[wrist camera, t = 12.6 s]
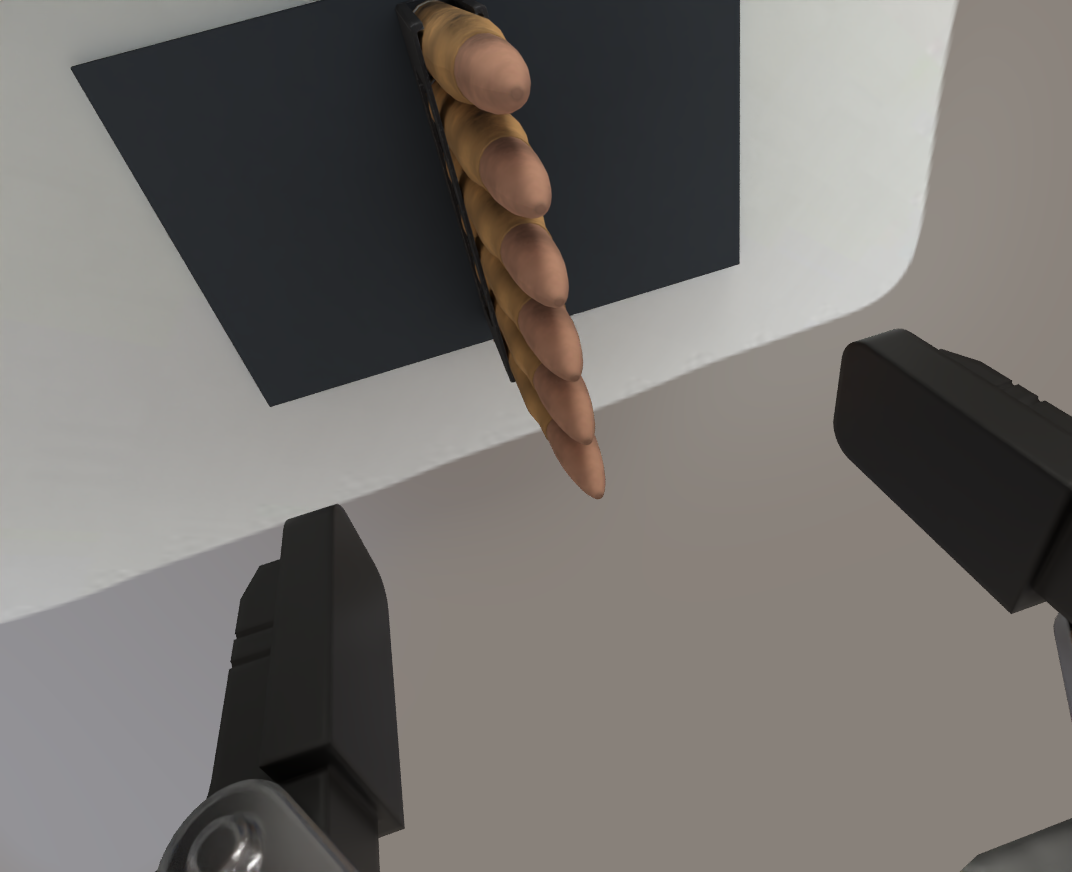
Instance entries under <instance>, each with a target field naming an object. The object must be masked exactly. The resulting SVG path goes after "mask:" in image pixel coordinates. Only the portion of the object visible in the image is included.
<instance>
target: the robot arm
mask: <svg viewBox="0 0 1072 872" xmlns="http://www.w3.org/2000/svg"><path fill="white" fill-rule="evenodd" d="M833 424H834V432H835V436H836V439H837V442H838V444H839V446H840V448H841V449H842V451H843V453H844V454H845V455H846V456H847V457H848V458H849V460H851V461H852V462H853V463H854V464H855V465H856V466H857V467H858V468H859V469H860V470H861V471H862V472H863V473H864V474H865V475H866V476H867V477H868V478H869V479H871V480H872V481H873V482H874V483H875V484H876V485H877V486H878V487H879V488H880V489H881V490H882V491H883V492H884V493H885V494H886V495H887V496H888V497H889V498H890V499H891V500H892V501H893V502H894V503H896V504H897V505H898V506H899V507H900V508H901V509H902V510H903V511H904V512H905V513H906V514H907V515H908V516H909V517H910V518H911V519H912V520H913V521H914V522H915V523H916V524H918V525H919V526H920V527H921V528H922V529H923V530H924V531H925V532H926V533H927V534H928V535H929V536H930V537H931V538H932V539H933V540H934V541H935V542H936V543H937V544H938V545H939V546H941V547H942V548H943V549H944V550H945V551H946V552H947V553H948V554H949V555H950V556H951V557H952V558H953V559H954V560H955V561H956V562H957V563H958V564H959V565H961V567H963V568H964V569H965V570H966V571H967V572H968V573H969V574H970V575H971V576H972V577H973V578H974V579H975V580H976V581H977V582H978V583H979V584H980V585H981V586H982V587H983V588H984V589H986V590H987V591H988V592H989V593H990V594H991V595H992V596H993V597H994V598H995V599H996V600H997V601H998V602H999V603H1000V604H1001V605H1002V606H1004V608H1005V609H1006V610H1007V611H1009V612H1010V613H1011V614H1012V613H1015V612H1018V611H1021V610H1024V609H1026V608H1029V607H1032V606H1035V605H1038V604H1040V603H1043V602H1046V601H1047V602H1048V603H1049V604H1050V605H1051V606H1052V607H1053V608H1054V609H1056V610H1057V611H1058V612H1059V613H1058V615H1057V616H1056V618H1055V621H1054V635H1055V640H1056V645H1057V650H1058V655H1059V660H1060V665H1061V670H1062V675H1063V680H1064V685H1065V690H1066V695H1067V700H1068V705H1069V710H1070V715H1071V720H1072V417H1071V416H1070V415H1068V414H1066V413H1065V412H1063V411H1061V410H1059V409H1058V408H1057V407H1055V406H1053V405H1052V404H1050V403H1048V402H1047V401H1043V402H1040V401H1039V400H1038V396H1037V395H1035V394H1033V393H1031V392H1030V391H1028V390H1027V389H1025V388H1024V387H1022V386H1020V385H1019V384H1018V385H1015V386H1014V385H1013V384H1012V380H1010V379H1009V378H1007V377H1005V376H1004V375H1002V374H1000V373H999V372H997V371H996V370H994V369H992V368H991V367H989V366H987V365H986V364H984V363H982V362H980V361H978V360H974V359H971V358H968V357H965V356H962V355H959V354H955V353H952V352H949V351H946V350H943V349H940V350H938V349H936V348H935V347H933V346H932V345H930V344H928V343H927V342H925V341H924V340H922V339H920V338H919V337H917V336H916V335H914V334H912V333H911V332H909V331H907V330H904V329H893V330H890V331H887V332H884V333H881V334H878V335H875V336H871V337H868V338H865V339H862V340H859V341H856V342H852V343H850V344H849V345H848V346H847V347H846V348H845V350H844V352H843V355H842V361H841V368H840V376H839V383H838V390H837V398H836V406H835V413H834V421H833ZM235 634H236V637H237V639H236V640H234V643H233V650H232V656H231V661H230V662H231V663H232V668H231V669H230V670H229V674H228V681H227V687H226V693H225V699H224V705H223V711H222V718H221V724H220V730H219V737H218V743H217V749H216V755H215V761H214V767H213V774H212V780H211V784H210V789H209V793H208V796H207V799H206V800H205V801H204V802H202V803H201V804H200V805H199V806H198V807H197V808H196V809H195V810H194V811H193V812H192V813H191V814H190V815H189V816H188V817H187V819H186V820H185V821H184V822H183V823H182V825H181V826H180V827H179V829H178V830H177V831H176V833H175V834H174V836H173V838H172V839H171V841H170V843H169V844H168V846H167V848H166V850H165V852H164V854H163V857H162V859H161V861H160V864H159V867H158V870H157V871H156V872H380V866H379V842H378V838H380V837H382V836H385V835H388V834H391V833H393V832H396V831H399V830H402V829H404V828H405V827H404V814H403V800H402V787H401V773H400V760H399V748H398V733H397V720H396V706H395V693H394V679H393V666H392V653H391V639H390V626H389V613H388V603H387V597H386V593H385V589H384V585H383V582H382V579H381V577H380V574H379V572H378V570H377V568H376V566H375V564H374V562H373V560H372V559H371V557H370V555H369V553H368V551H367V549H366V548H365V546H364V545H363V542H362V540H361V539H360V537H359V535H358V533H357V531H356V530H355V528H354V526H353V524H352V522H351V521H350V519H349V517H348V516H347V514H346V512H345V510H344V509H343V508H342V507H341V506H340V505H339V504H335V505H332V506H329V507H326V508H322V509H319V510H316V511H313V512H310V513H307V514H303V515H300V516H297V517H294V518H291V519H288V520H287V521H286V522H285V524H284V529H283V538H282V547H281V557H280V560H276V561H273V562H270V563H267V564H264V565H261V566H259V568H258V570H257V571H256V573H255V575H254V577H253V578H252V580H251V582H250V584H249V585H248V587H247V589H246V591H245V592H244V594H243V596H242V598H241V599H240V606H239V612H238V618H237V624H236V630H235ZM960 872H1072V818H1071V819H1069V820H1066V821H1063V822H1061V823H1058V824H1056V825H1053V826H1051V827H1048V828H1046V829H1043V830H1040V831H1038V832H1036V833H1033V834H1030V835H1028V836H1025V837H1023V838H1020V839H1017V840H1015V841H1012V842H1010V843H1007V844H1004V845H1002V846H999V847H997V848H994V849H992V850H989V851H987V852H984V853H981V854H979V855H977V856H976V857H975V858H974V859H973V860H972V861H971V862H970V863H969V864H968V865H966V866H965V867H964V868H963V869H962V870H961V871H960Z"/></svg>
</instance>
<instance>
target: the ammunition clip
mask: <svg viewBox="0 0 1072 872" xmlns="http://www.w3.org/2000/svg"><path fill="white" fill-rule="evenodd" d="M395 10H396V13H397V17H398V20H399V24H400V27H401V31H402V34H403V37H404V41H405V44H406V48H407V51H408V55H409V58H410V61H411V65H412V68H413V72H414V75H415V78H416V82H417V85H418V89H419V92H420V96H421V99H422V102H423V106H424V109H425V113H426V116H427V120H428V123H429V126H430V130H431V133H432V137H433V140H434V144H435V147H436V150H437V154H438V157H439V161H440V164H441V168H442V171H443V174H444V178H445V181H446V185H447V188H448V192H449V195H450V198H451V202H452V205H453V209H454V212H455V216H456V219H457V222H458V226H459V229H460V233H461V236H462V240H463V243H464V246H465V250H466V253H467V257H468V260H469V264H470V267H471V270H472V274H473V277H474V281H475V284H476V287H477V291H478V294H479V298H480V301H481V305H482V308H483V311H484V315H485V318H486V321H487V323H488V326H489V328H490V331H491V334H492V336H493V339H494V341H495V344H496V346H497V349H498V351H499V354H500V356H501V359H502V361H503V364H504V366H505V369H506V371H507V374H508V376H509V379H510V381H511V382H516V383H517V386H518V388H519V390H520V393H521V395H522V397H523V400H524V402H525V405H526V407H527V409H528V411H529V413H530V414H531V415H532V416H533V417H534V419H535V420H536V421H537V422H538V423H539V425H540V427H541V429H542V431H543V433H544V434H545V437H546V438H547V440H548V441H549V443H550V445H551V447H552V449H553V451H554V453H555V455H556V457H557V459H558V460H559V462H560V464H561V465H562V467H563V468H564V470H565V471H566V472H567V474H568V475H569V476H570V477H571V479H572V480H573V481H574V482H575V483H576V484H577V485H578V486H579V487H580V488H581V489H582V490H583V491H584V492H585V493H586V494H588V495H589V496H591V497H593V498H595V499H601V498H602V497H603V495H604V491H605V473H604V466H603V461H602V456H601V452H600V449H599V446H598V443H597V440H596V437H595V435H594V433H595V421H594V413H593V408H592V403H591V399H590V396H589V393H588V390H587V387H586V385H585V382H584V380H583V378H582V377H581V373H582V369H583V356H582V349H581V345H580V340H579V336H578V333H577V331H576V328H575V325H574V323H573V321H572V319H571V317H570V316H569V314H568V312H567V311H566V307H565V302H566V300H567V298H568V292H569V282H568V276H567V271H566V266H565V263H564V260H563V258H562V255H561V253H560V251H559V249H558V248H557V246H556V244H555V243H554V241H553V240H552V237H551V235H550V233H549V232H548V230H547V228H546V227H545V222H544V217H543V215H545V214H546V213H547V212H548V210H549V207H550V205H551V198H552V193H551V186H550V181H549V177H548V174H547V172H546V170H545V168H544V166H543V164H542V162H541V161H540V159H539V157H538V156H537V154H536V153H535V152H534V151H533V149H532V148H531V146H530V144H529V143H528V138H527V135H526V133H525V131H524V130H523V128H522V126H521V125H520V123H519V122H518V121H517V120H516V119H515V118H514V117H513V116H512V115H511V114H510V113H513V112H515V111H516V110H518V109H520V108H521V107H522V106H523V105H524V104H525V103H526V102H527V99H528V97H529V95H530V86H531V80H530V75H529V70H528V67H527V65H526V63H525V62H524V60H523V58H522V56H521V55H520V53H519V52H518V51H517V50H516V49H515V48H514V47H513V46H512V45H511V44H510V43H509V42H507V41H506V39H505V37H504V35H503V33H502V32H501V30H500V29H499V28H498V27H497V26H496V25H494V24H493V23H492V22H491V21H490V20H489V16H488V11H487V8H486V6H485V5H483V4H481V3H479V2H477V1H475V0H409V1H405V2H402V3H398V4H397V5H396V7H395Z"/></svg>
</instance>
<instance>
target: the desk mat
mask: <svg viewBox="0 0 1072 872" xmlns="http://www.w3.org/2000/svg"><path fill="white" fill-rule="evenodd" d="M405 1H409V0H320V1H316V2H312V3H309V4H305V5H301V6H297V7H294V8H290V9H286V10H282V11H279V12H275V13H271V14H267V15H264V16H260V17H256V18H252V19H249V20H245V21H241V22H237V23H234V24H230V25H226V26H222V27H219V28H215V29H211V30H207V31H203V32H200V33H196V34H192V35H188V36H185V37H181V38H177V39H173V40H170V41H166V42H162V43H158V44H155V45H151V46H147V47H143V48H140V49H136V50H132V51H128V52H125V53H121V54H117V55H113V56H110V57H106V58H102V59H98V60H94V61H91V62H87V63H83V64H79V65H76V66H73V67H71V70H72V72H73V74H74V75H75V77H76V79H77V80H78V82H79V84H80V85H81V87H82V89H83V91H84V92H85V94H86V96H87V97H88V99H89V101H90V102H91V104H92V106H93V108H94V109H95V111H96V113H97V114H98V116H99V118H100V119H101V121H102V123H103V124H104V126H105V128H106V130H107V131H108V133H109V135H110V136H111V138H112V140H113V141H114V143H115V145H116V147H117V148H118V150H119V152H120V153H121V155H122V157H123V158H124V160H125V162H126V164H127V165H128V167H129V169H130V170H131V172H132V174H133V175H134V177H135V179H136V180H137V182H138V184H139V186H140V187H141V189H142V191H143V192H144V194H145V196H146V197H147V199H148V201H149V203H150V204H151V206H152V208H153V209H154V211H155V213H156V214H157V216H158V218H159V220H160V221H161V223H162V225H163V226H164V228H165V230H166V231H167V233H168V235H169V236H170V238H171V240H172V242H173V243H174V245H175V247H176V248H177V250H178V252H179V253H180V255H181V257H182V259H183V260H184V262H185V264H186V265H187V267H188V269H189V270H190V272H191V274H192V275H193V277H194V279H195V281H196V282H197V284H198V286H199V287H200V289H201V291H202V292H203V294H204V296H205V298H206V299H207V301H208V303H209V304H210V306H211V308H212V309H213V311H214V313H215V315H216V316H217V318H218V320H219V321H220V323H221V325H222V326H223V328H224V330H225V331H226V333H227V335H228V337H229V338H230V340H231V342H232V343H233V345H234V347H235V348H236V350H237V352H238V354H239V355H240V357H241V359H242V360H243V362H244V364H245V365H246V367H247V369H248V371H249V372H250V374H251V376H252V377H253V379H254V381H255V382H256V384H257V386H258V387H259V389H260V391H261V393H262V394H263V396H264V398H265V399H266V401H267V403H268V404H269V406H270V407H272V406H275V405H278V404H282V403H285V402H288V401H292V400H295V399H298V398H301V397H305V396H308V395H311V394H315V393H318V392H321V391H324V390H328V389H331V388H334V387H338V386H341V385H344V384H347V383H351V382H354V381H357V380H360V379H364V378H367V377H370V376H374V375H377V374H380V373H383V372H387V371H390V370H393V369H397V368H400V367H403V366H406V365H410V364H413V363H416V362H420V361H423V360H426V359H429V358H433V357H436V356H439V355H442V354H446V353H449V352H452V351H456V350H459V349H462V348H465V347H469V346H472V345H475V344H479V343H482V342H485V341H488V340H492V339H493V336H492V334H491V331H490V328H489V326H488V323H487V321H486V318H485V315H484V311H483V308H482V305H481V301H480V298H479V294H478V291H477V287H476V284H475V281H474V277H473V274H472V270H471V267H470V264H469V260H468V257H467V253H466V250H465V246H464V243H463V240H462V236H461V233H460V229H459V226H458V222H457V219H456V216H455V212H454V209H453V205H452V202H451V198H450V195H449V192H448V188H447V185H446V181H445V178H444V174H443V171H442V168H441V164H440V161H439V157H438V154H437V150H436V147H435V144H434V140H433V137H432V133H431V130H430V126H429V123H428V120H427V116H426V113H425V109H424V106H423V102H422V99H421V96H420V92H419V89H418V85H417V82H416V78H415V75H414V72H413V68H412V65H411V61H410V58H409V55H408V51H407V48H406V44H405V41H404V37H403V34H402V31H401V27H400V24H399V20H398V17H397V13H396V10H395V7H396V5H397V4H398V3H402V2H405ZM475 1H477V2H479V3H481V4H483V5H485V6H486V8H487V11H488V16H489V20H490V21H491V22H492V23H493V24H494V25H496V26H497V27H498V28H499V29H500V30H501V32H502V33H503V35H504V37H505V39H506V41H507V42H509V43H510V44H511V45H512V46H513V47H514V48H515V49H516V50H517V51H518V52H519V53H520V55H521V56H522V58H523V60H524V62H525V63H526V65H527V67H528V70H529V75H530V80H531V86H530V95H529V97H528V99H527V102H526V103H525V104H524V105H523V106H522V107H521V108H520V109H518V110H516V111H515V112H513V113H510V114H511V115H512V116H513V117H514V118H515V119H516V120H517V121H518V122H519V123H520V125H521V126H522V128H523V130H524V131H525V133H526V135H527V138H528V143H529V144H530V146H531V148H532V149H533V151H534V152H535V153H536V154H537V156H538V157H539V159H540V161H541V162H542V164H543V166H544V168H545V170H546V172H547V174H548V177H549V181H550V186H551V193H552V198H551V205H550V207H549V210H548V212H547V213H546V214H545V215H543V217H544V222H545V227H546V228H547V230H548V232H549V233H550V235H551V237H552V240H553V241H554V243H555V244H556V246H557V248H558V249H559V251H560V253H561V255H562V258H563V260H564V263H565V266H566V271H567V276H568V282H569V292H568V298H567V300H566V302H565V307H566V311H567V312H568V314H569V316H570V315H574V314H577V313H580V312H584V311H587V310H590V309H593V308H597V307H600V306H603V305H606V304H610V303H613V302H616V301H620V300H623V299H626V298H629V297H633V296H636V295H639V294H643V293H646V292H649V291H652V290H656V289H659V288H662V287H666V286H669V285H672V284H675V283H679V282H682V281H685V280H688V279H692V278H695V277H698V276H702V275H705V274H708V273H711V272H715V271H718V270H721V269H725V268H728V267H731V266H734V265H738V264H739V220H740V0H475Z"/></svg>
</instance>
